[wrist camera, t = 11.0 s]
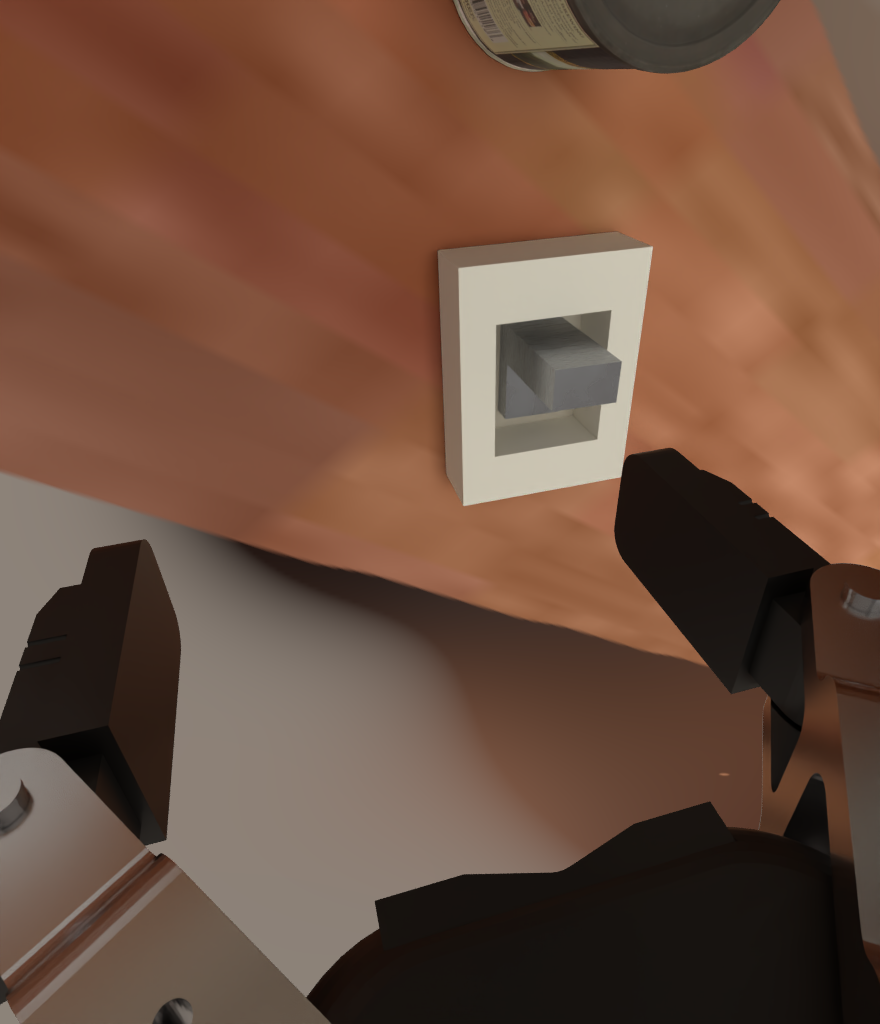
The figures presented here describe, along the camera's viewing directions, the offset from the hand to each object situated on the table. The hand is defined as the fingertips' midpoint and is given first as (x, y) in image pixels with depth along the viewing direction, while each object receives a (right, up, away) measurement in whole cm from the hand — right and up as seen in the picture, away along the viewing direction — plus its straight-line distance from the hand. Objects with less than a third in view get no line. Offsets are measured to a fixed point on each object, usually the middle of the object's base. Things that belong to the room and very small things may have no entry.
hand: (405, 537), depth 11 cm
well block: (+6, +11, +35) cm, 37 cm away
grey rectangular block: (+7, +11, +34) cm, 37 cm away
